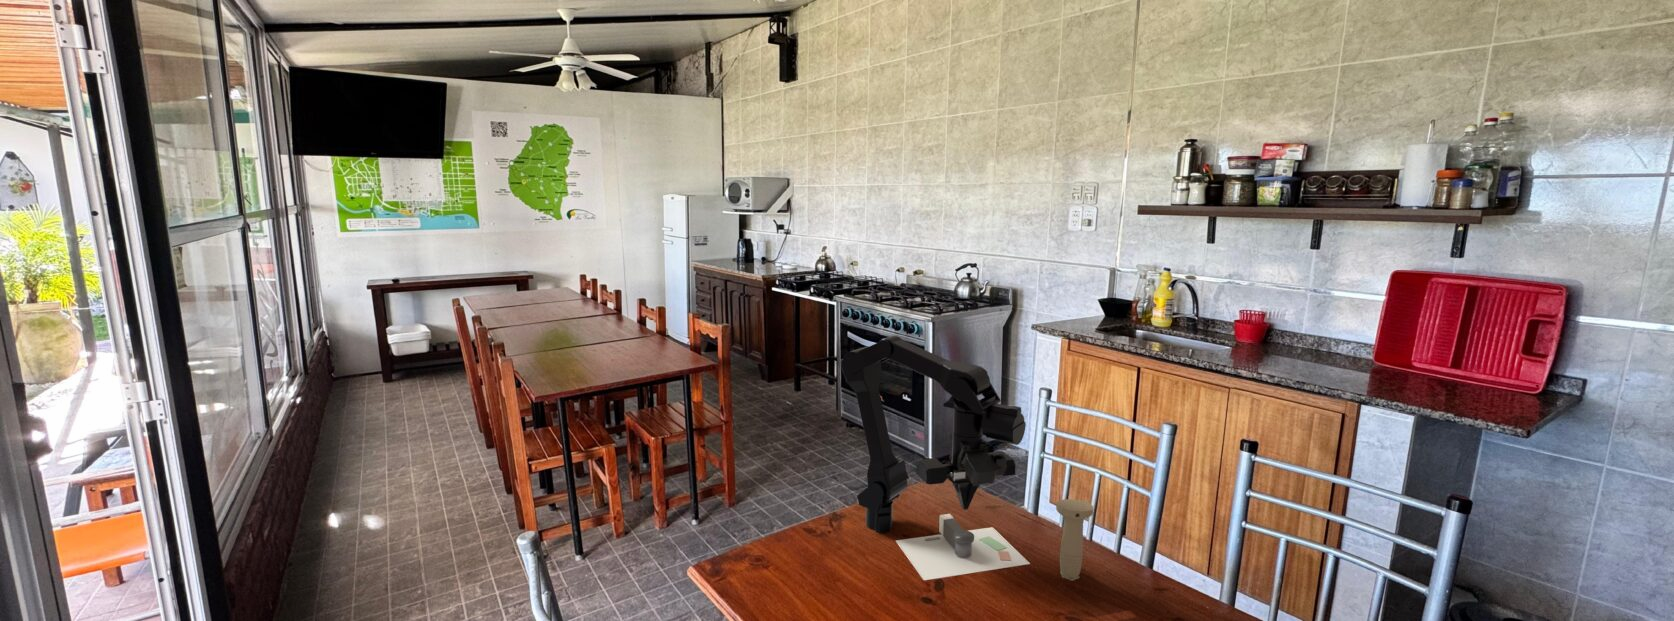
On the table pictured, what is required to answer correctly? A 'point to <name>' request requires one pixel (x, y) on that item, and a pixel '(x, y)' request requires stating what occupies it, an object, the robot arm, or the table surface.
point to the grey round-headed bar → (956, 535)
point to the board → (941, 561)
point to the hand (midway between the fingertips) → (964, 508)
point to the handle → (1072, 535)
